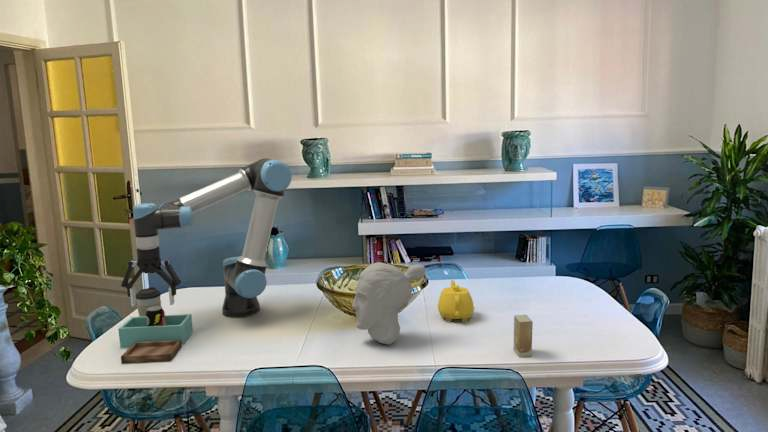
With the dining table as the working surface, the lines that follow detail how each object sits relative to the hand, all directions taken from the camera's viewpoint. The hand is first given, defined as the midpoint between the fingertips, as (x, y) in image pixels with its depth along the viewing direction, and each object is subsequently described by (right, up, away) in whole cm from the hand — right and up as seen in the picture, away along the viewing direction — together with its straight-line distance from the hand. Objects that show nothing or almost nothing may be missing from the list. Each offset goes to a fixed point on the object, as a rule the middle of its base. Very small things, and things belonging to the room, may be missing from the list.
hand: (153, 304), depth 203 cm
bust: (+86, -12, -4) cm, 87 cm away
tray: (+4, -15, -11) cm, 20 cm away
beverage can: (+1, -13, +3) cm, 14 cm away
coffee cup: (-7, -11, +16) cm, 21 cm away
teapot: (+111, -7, +17) cm, 113 cm away
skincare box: (+129, -13, -19) cm, 131 cm away
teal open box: (+1, -13, +2) cm, 13 cm away
